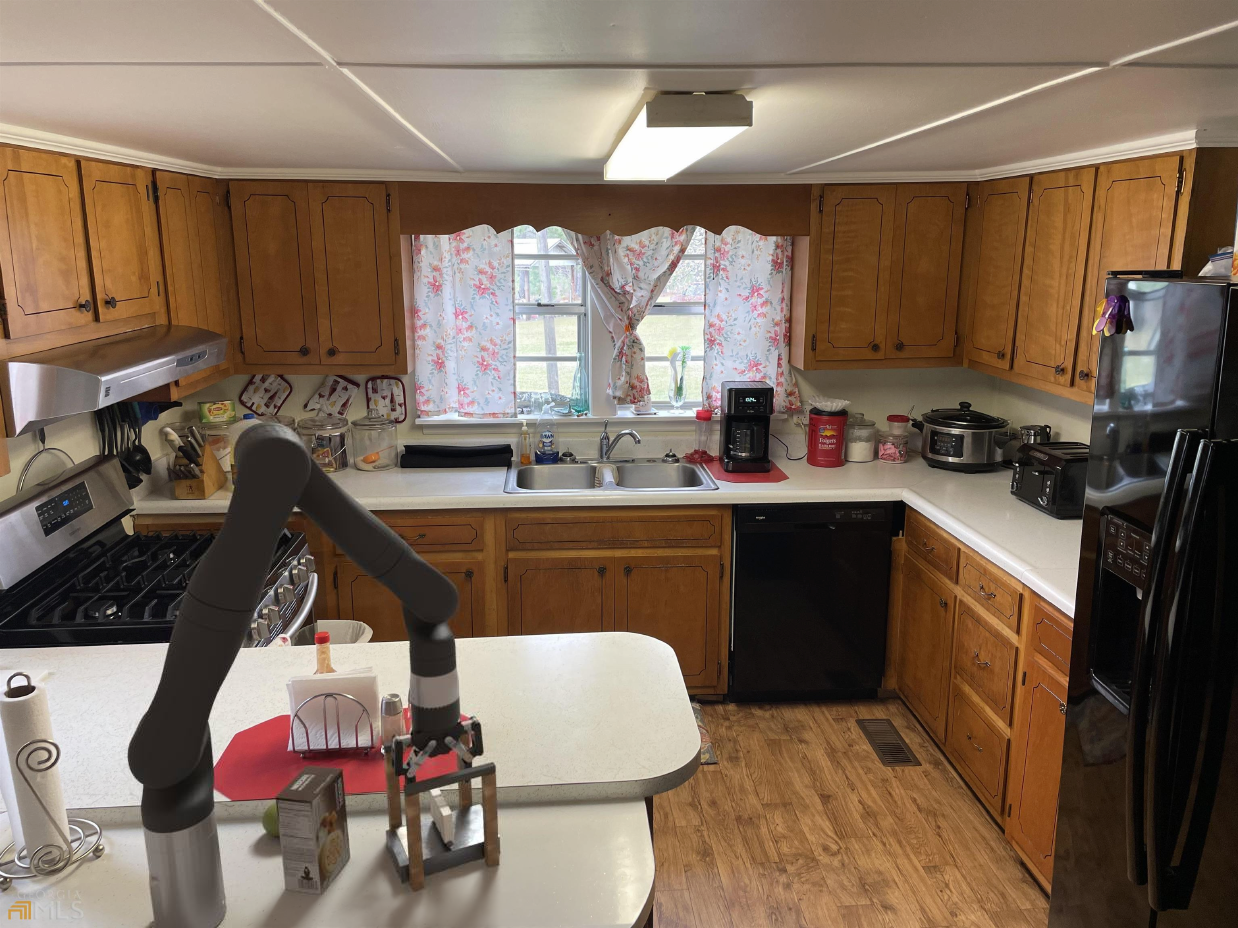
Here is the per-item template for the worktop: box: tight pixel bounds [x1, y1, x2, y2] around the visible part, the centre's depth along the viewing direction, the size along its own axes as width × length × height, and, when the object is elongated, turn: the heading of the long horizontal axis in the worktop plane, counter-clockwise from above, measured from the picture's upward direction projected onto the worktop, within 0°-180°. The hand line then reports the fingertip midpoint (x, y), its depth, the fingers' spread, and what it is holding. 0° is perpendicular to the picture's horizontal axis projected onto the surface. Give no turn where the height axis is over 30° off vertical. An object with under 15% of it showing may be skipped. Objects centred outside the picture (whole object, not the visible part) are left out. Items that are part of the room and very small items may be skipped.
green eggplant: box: [261, 801, 280, 837], centre depth 150 cm, size 6×5×10 cm
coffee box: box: [275, 765, 351, 895], centre depth 139 cm, size 9×6×16 cm
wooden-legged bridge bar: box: [382, 730, 468, 753], centre depth 148 cm, size 14×1×1 cm, turn 117°
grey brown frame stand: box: [383, 733, 500, 893], centre depth 144 cm, size 14×15×16 cm
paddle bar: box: [429, 788, 454, 848], centre depth 145 cm, size 1×9×6 cm, turn 27°
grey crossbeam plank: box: [403, 761, 497, 796], centre depth 136 cm, size 14×1×1 cm, turn 117°
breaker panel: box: [385, 803, 501, 884], centre depth 146 cm, size 16×10×3 cm, turn 117°
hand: (439, 787), depth 144 cm, fingers open, 8 cm apart
